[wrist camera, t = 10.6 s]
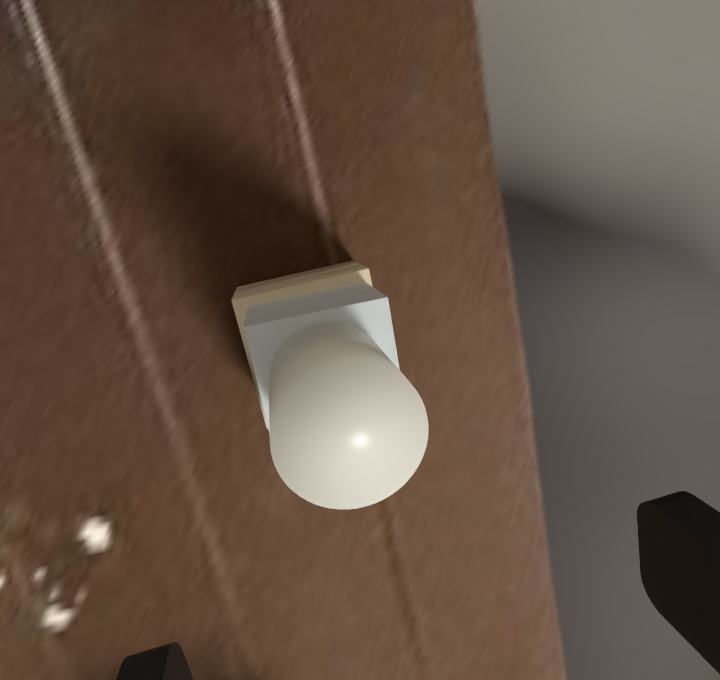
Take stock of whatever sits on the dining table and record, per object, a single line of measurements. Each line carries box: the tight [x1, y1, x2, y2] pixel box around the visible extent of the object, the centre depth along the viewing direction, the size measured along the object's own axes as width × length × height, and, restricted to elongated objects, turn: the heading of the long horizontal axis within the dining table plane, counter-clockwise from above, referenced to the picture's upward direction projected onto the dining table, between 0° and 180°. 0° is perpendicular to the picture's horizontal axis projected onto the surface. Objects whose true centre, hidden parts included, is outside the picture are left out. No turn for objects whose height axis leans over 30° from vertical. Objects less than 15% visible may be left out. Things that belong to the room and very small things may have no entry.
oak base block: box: [231, 261, 372, 429], centre depth 29 cm, size 7×7×5 cm
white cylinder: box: [269, 321, 428, 509], centre depth 19 cm, size 5×5×6 cm
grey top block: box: [244, 282, 400, 434], centre depth 24 cm, size 6×6×5 cm
